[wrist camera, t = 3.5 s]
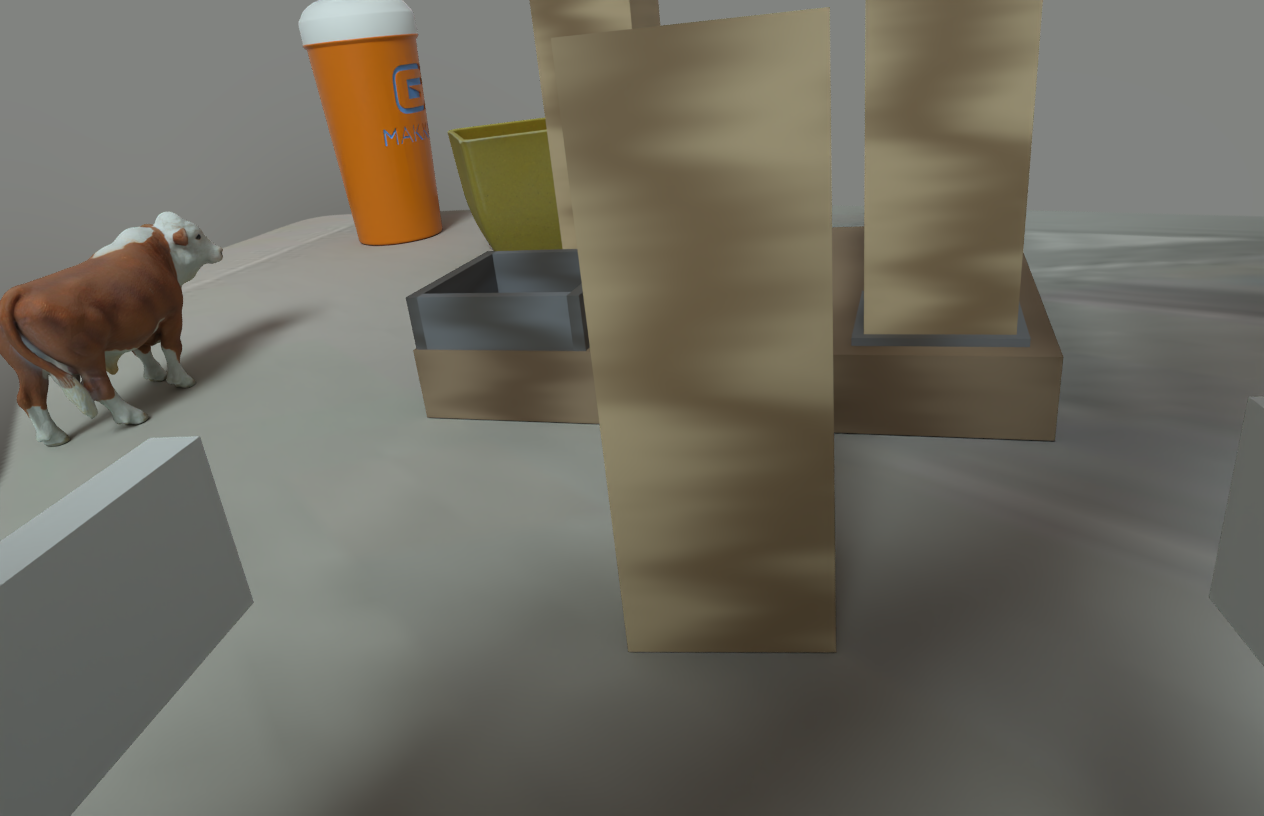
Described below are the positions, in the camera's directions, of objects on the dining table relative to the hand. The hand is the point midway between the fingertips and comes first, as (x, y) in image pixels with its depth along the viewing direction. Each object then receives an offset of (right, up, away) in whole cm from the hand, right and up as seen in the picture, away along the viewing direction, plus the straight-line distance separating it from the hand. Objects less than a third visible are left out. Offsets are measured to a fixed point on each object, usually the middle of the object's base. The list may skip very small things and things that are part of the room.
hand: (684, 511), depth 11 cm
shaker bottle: (-21, +16, +64) cm, 69 cm away
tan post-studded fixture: (+5, +5, +30) cm, 31 cm away
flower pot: (-8, +12, +52) cm, 54 cm away
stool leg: (+2, -4, +12) cm, 13 cm away
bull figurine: (-24, +2, +31) cm, 39 cm away
